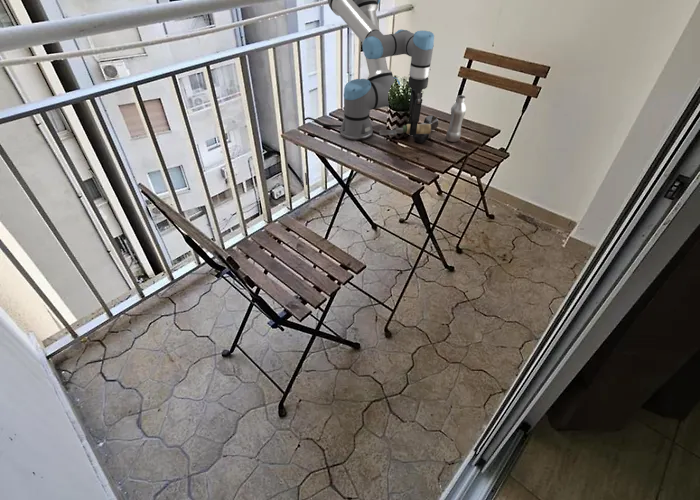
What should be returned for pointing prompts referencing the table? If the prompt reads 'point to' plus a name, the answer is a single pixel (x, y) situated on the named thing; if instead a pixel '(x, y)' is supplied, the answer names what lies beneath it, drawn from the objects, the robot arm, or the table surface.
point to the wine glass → (434, 125)
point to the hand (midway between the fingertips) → (411, 132)
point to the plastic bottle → (456, 119)
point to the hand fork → (408, 130)
